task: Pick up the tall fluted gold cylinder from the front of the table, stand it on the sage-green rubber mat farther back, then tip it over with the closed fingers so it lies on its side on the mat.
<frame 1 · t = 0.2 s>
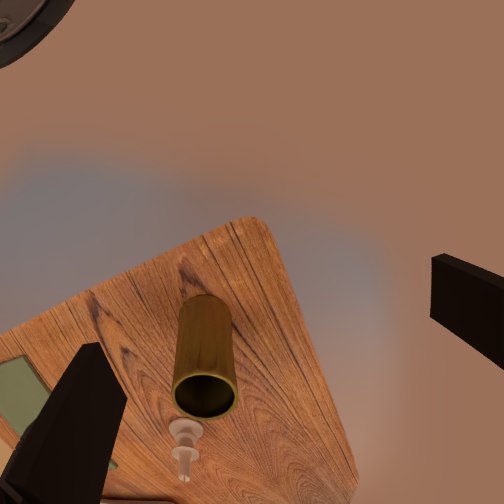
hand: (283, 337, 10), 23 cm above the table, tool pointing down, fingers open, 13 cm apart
mat: (40, 423, 35), on the table
fluted gold cylinder: (205, 317, 34), on the table
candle: (186, 427, 38), on the table
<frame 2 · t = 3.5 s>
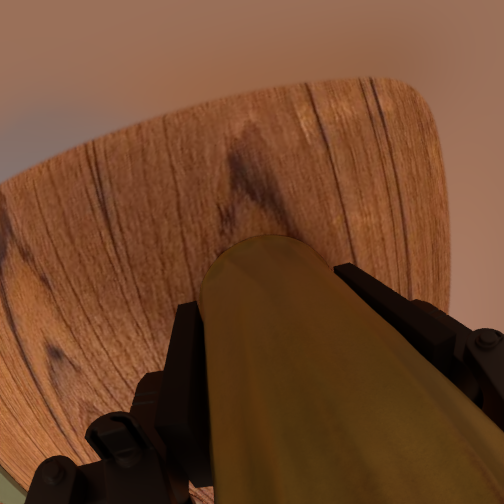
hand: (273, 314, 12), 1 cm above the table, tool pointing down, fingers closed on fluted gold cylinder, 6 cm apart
fluted gold cylinder: (267, 300, 13), on the table, touching gripper
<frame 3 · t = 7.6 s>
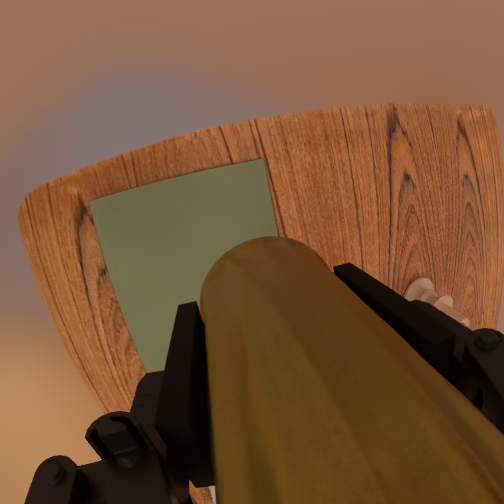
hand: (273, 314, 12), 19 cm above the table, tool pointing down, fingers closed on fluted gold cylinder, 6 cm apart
mat: (202, 299, 32), on the table
fluted gold cylinder: (267, 301, 13), point 18 cm above the table, touching gripper
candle: (417, 294, 36), on the table
when the fingers open (2 cm above the table, at t = 12.0 s): fluted gold cylinder stays where it is, resting on mat.
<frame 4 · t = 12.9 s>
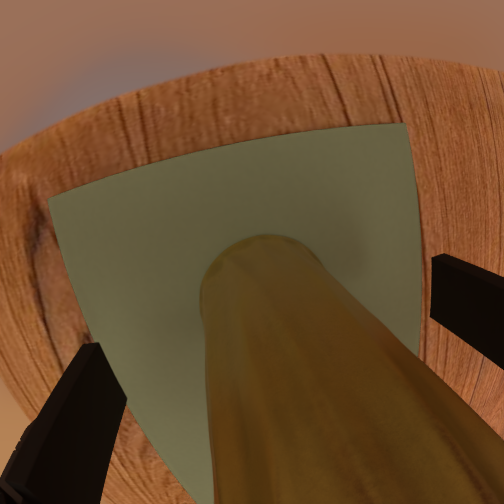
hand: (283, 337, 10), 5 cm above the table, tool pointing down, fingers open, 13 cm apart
mat: (281, 382, 16), on the table
fluted gold cylinder: (264, 297, 14), point 1 cm above the table, touching mat
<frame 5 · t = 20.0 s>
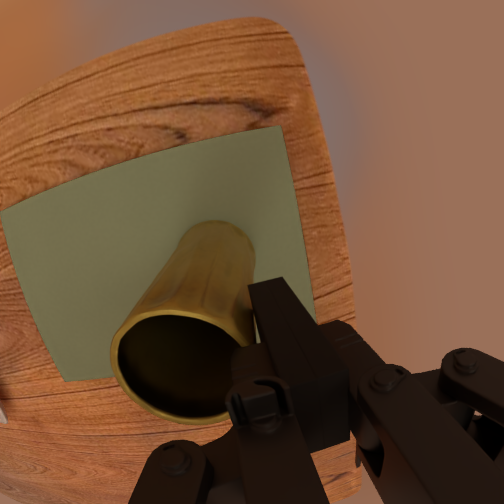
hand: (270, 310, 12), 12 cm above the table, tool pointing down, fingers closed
mat: (146, 272, 24), on the table
fluted gold cylinder: (215, 258, 23), point 1 cm above the table, touching gripper, mat
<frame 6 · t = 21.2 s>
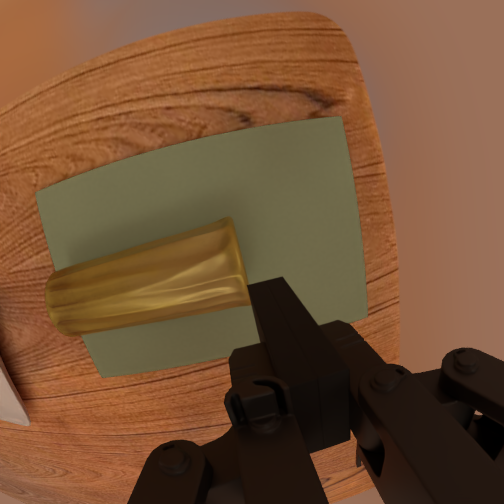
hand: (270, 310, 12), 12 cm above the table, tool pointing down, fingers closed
mat: (205, 256, 24), on the table
fluted gold cylinder: (245, 259, 20), point 4 cm above the table, touching mat
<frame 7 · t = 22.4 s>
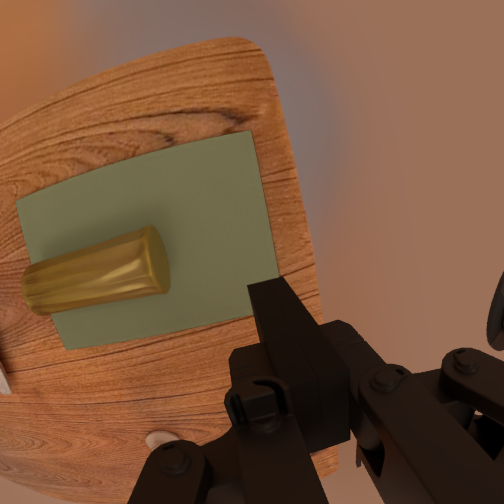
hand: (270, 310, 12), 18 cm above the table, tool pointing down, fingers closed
mat: (140, 251, 28), on the table
fluted gold cylinder: (162, 257, 25), point 4 cm above the table, touching mat
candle: (163, 440, 35), on the table
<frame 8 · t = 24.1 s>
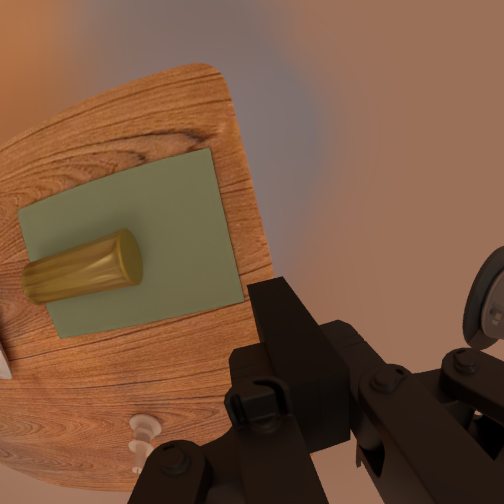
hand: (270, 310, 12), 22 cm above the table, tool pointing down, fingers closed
mat: (120, 253, 33), on the table
fluted gold cylinder: (134, 255, 29), point 4 cm above the table, touching mat
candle: (146, 423, 39), on the table
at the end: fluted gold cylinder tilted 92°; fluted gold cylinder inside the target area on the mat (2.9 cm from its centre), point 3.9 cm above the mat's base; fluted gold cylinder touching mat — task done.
